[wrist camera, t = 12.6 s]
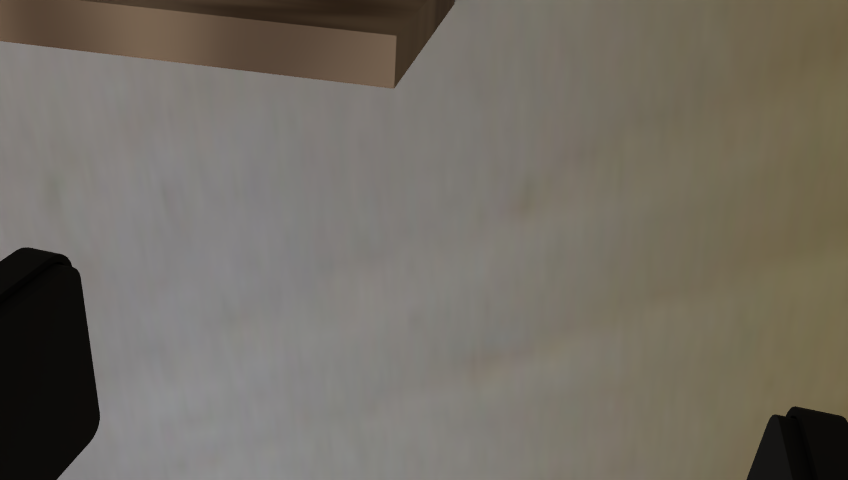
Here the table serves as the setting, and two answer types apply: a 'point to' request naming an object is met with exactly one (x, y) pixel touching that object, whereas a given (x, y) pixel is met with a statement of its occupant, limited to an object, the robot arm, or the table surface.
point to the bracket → (240, 33)
